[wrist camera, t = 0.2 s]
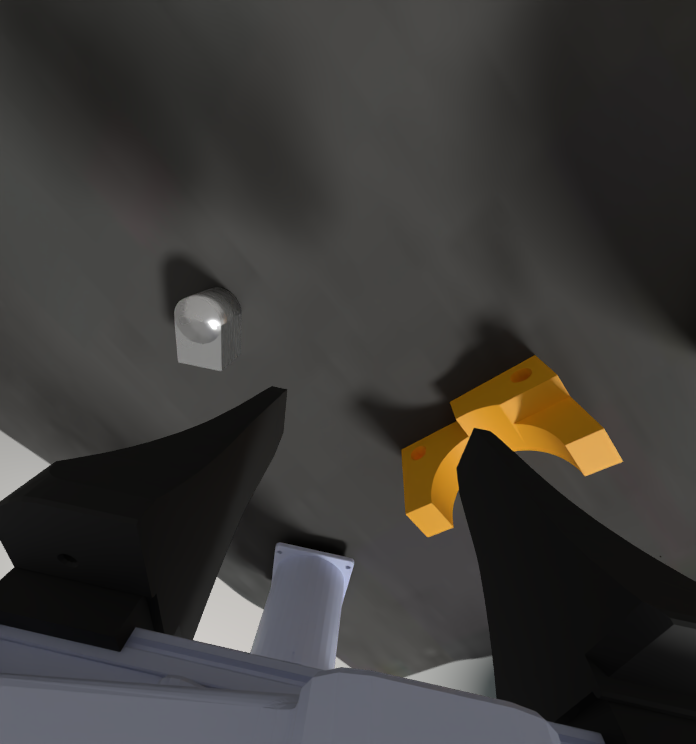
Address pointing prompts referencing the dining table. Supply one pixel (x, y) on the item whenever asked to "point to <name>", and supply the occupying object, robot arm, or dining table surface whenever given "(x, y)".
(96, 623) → the robot arm
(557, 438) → the pipe clamp
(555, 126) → the dining table surface
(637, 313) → the dining table surface
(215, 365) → the chain ends
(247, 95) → the dining table surface
